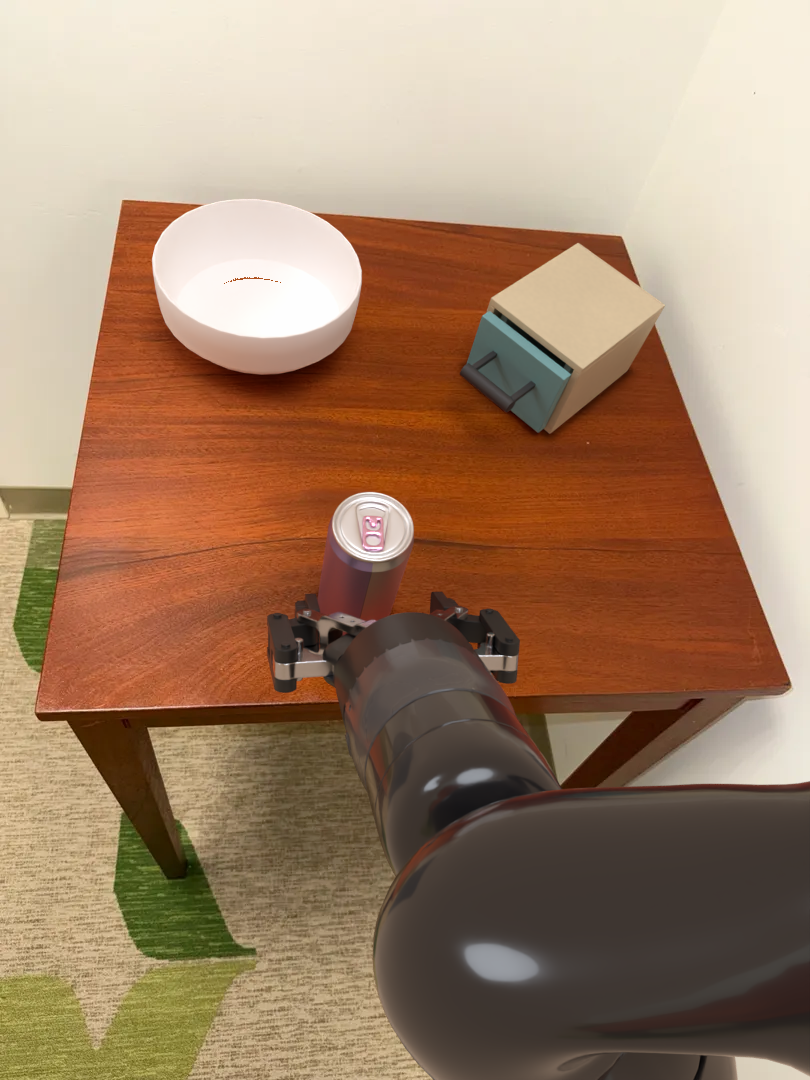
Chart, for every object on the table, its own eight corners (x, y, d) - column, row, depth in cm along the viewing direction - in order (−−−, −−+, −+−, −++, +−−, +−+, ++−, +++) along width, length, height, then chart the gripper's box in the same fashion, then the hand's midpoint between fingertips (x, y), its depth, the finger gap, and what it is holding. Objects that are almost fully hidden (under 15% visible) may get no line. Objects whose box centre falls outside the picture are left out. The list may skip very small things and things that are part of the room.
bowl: (185, 252, 84) (179, 182, 77) (362, 284, 86) (371, 219, 79) (139, 383, 74) (126, 316, 67) (341, 417, 76) (350, 355, 68)
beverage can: (313, 651, 62) (328, 561, 50) (315, 587, 65) (330, 486, 53) (386, 654, 63) (418, 566, 51) (385, 590, 66) (415, 492, 54)
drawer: (509, 456, 75) (533, 403, 69) (433, 392, 78) (449, 336, 72) (612, 373, 84) (642, 319, 77) (540, 318, 87) (564, 262, 80)
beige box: (549, 434, 79) (583, 368, 71) (467, 367, 82) (490, 297, 74) (627, 371, 86) (665, 305, 78) (549, 311, 89) (578, 242, 81)
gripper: (573, 637, 37) (478, 551, 52) (271, 646, 34) (265, 553, 49) (559, 778, 38) (471, 654, 54) (271, 798, 36) (265, 661, 51)
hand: (373, 606), depth 52 cm, fingers open, 8 cm apart
